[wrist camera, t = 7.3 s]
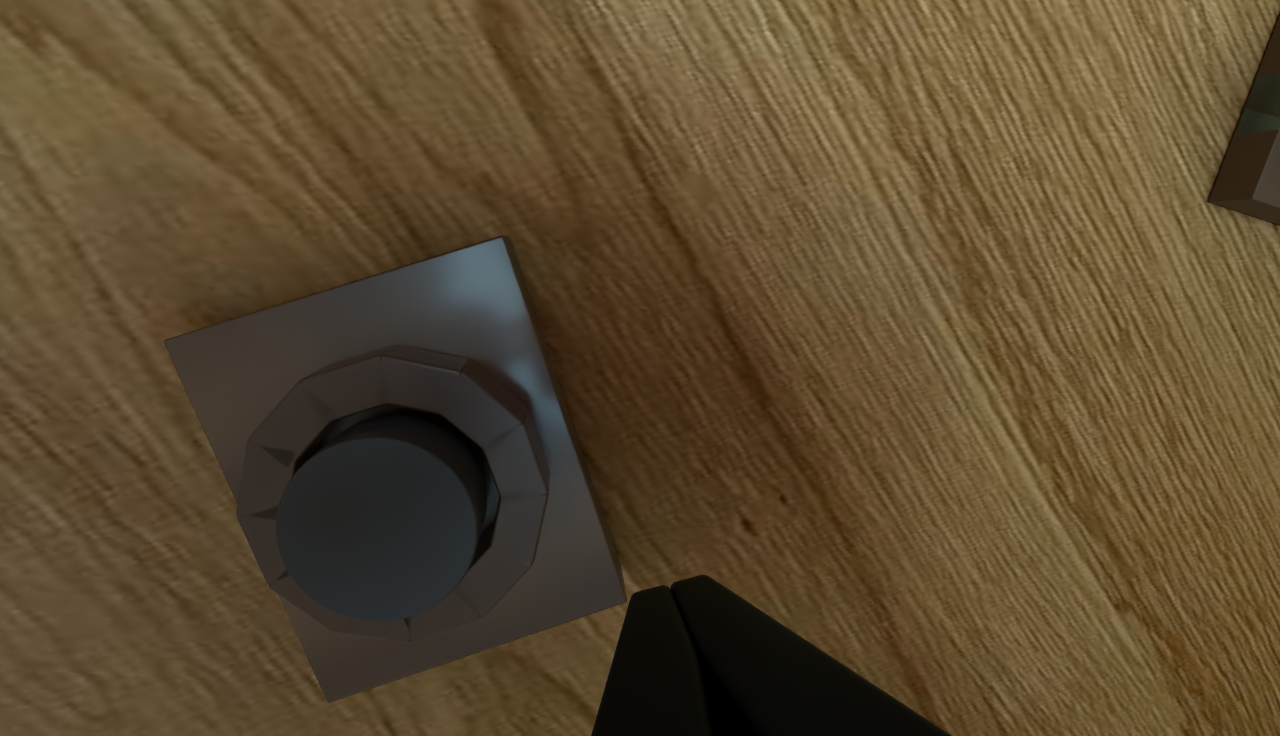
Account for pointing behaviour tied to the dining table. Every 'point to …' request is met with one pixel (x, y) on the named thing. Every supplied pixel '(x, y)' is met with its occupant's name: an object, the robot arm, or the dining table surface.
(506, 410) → the button box
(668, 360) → the dining table surface
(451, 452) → the button
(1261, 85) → the wall plate
